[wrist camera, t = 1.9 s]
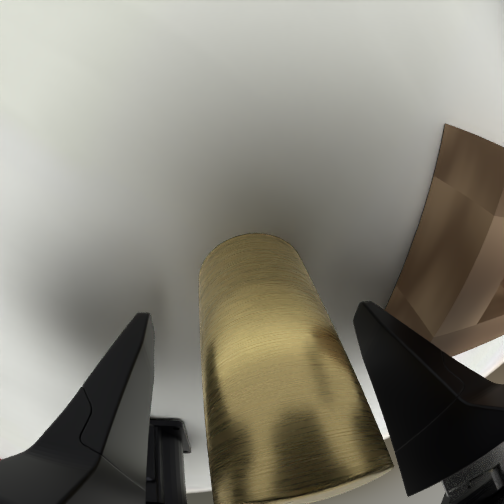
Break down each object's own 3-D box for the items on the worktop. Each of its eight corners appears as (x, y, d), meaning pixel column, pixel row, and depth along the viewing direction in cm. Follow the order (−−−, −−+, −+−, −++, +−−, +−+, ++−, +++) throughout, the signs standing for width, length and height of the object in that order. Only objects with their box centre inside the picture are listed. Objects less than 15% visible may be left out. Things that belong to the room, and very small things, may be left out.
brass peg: (293, 313, 13) (354, 490, 6) (200, 318, 12) (217, 516, 5) (311, 233, 10) (428, 444, 4) (197, 233, 10) (210, 500, 3)
